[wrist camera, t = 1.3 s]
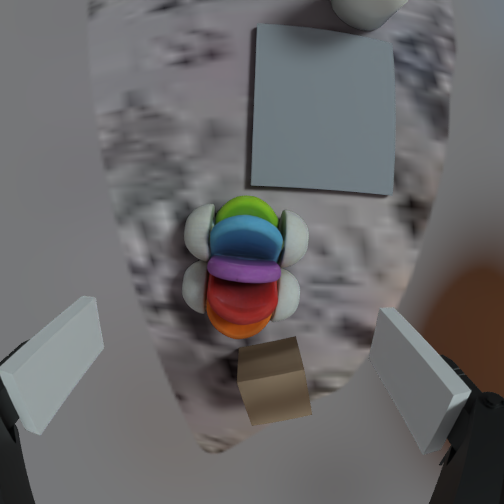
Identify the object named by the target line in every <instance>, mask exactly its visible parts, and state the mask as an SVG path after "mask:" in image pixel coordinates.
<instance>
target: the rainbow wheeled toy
mask: <svg viewBox="0 0 504 504" xmlns="http://www.w3.org/2000/svg"><path fill="white" fill-rule="evenodd" d="M278 227H279V228H278ZM308 238H309V235H308V228H307V226H306V224H305V222H304V221H303V220H302V218H301V217H300V216H298V215H297V214H295V213H293V212H291V211H289V210H284V211H283V212H282V214H281V218H280V222H279V221H278V218H277V216H276V214H275V213H274V211H273V210H272V208H271V207H270V206H269V205H268V204H267V203H266V202H264V201H263V200H261V199H259V198H257V197H254V196H239V197H236V198H233V199H231V200H230V201H228V202H227V203H226V204H225V205H224V206H223V207H222V208H221V209H220V210H219V211H218V212H217V215H216V217H215V207H214V205H213V204H207V205H203V206H200V207H198V208H197V209H195V210H194V211H193V212H192V213H191V214H190V215H189V216H188V218H187V221H186V224H185V231H184V240H185V244H186V247H187V248H188V250H189V251H190V252H191V253H192V254H193V255H194V256H195V257H196V258H198V259H200V261H197V262H195V263H193V264H192V265H191V266H189V267H188V269H187V270H186V271H185V274H184V278H183V284H182V295H183V298H184V300H185V302H186V303H187V304H188V306H189V307H191V308H192V309H193V310H195V311H197V312H199V313H203V314H204V313H205V311H206V310H207V315H208V317H209V319H210V321H211V323H212V324H213V326H214V327H215V328H216V329H217V330H218V331H219V332H221V333H222V334H224V335H225V336H227V337H230V338H233V339H244V338H248V337H251V336H253V335H255V334H257V333H259V332H260V331H261V330H262V329H263V328H264V327H265V326H266V325H267V323H268V322H269V320H271V321H272V322H278V321H282V320H284V319H286V318H288V317H289V316H291V315H292V314H293V313H294V312H295V310H296V309H297V307H298V303H299V298H300V287H299V284H298V282H297V280H296V278H295V277H294V276H293V275H292V274H291V273H290V272H288V271H287V270H285V269H282V268H283V267H288V266H291V265H293V264H295V263H297V262H298V261H299V260H301V258H302V257H303V256H304V255H305V253H306V250H307V247H308ZM280 267H281V268H280Z"/></svg>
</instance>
